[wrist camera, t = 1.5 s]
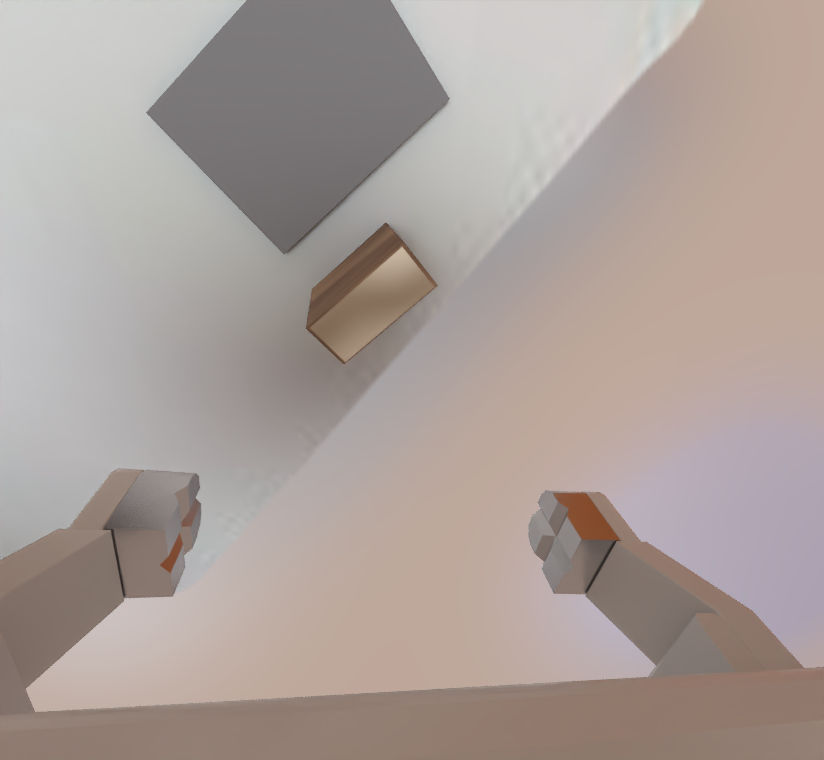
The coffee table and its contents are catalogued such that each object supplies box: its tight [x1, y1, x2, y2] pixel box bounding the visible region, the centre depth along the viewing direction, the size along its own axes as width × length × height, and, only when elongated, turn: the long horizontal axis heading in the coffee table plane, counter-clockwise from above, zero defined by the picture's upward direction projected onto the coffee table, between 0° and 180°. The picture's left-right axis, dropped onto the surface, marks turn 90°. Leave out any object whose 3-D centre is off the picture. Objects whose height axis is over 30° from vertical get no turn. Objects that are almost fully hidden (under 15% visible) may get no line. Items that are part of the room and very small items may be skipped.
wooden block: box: [306, 223, 438, 364], centre depth 26 cm, size 3×7×8 cm, turn 129°
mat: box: [146, 0, 449, 254], centre depth 24 cm, size 14×10×1 cm
